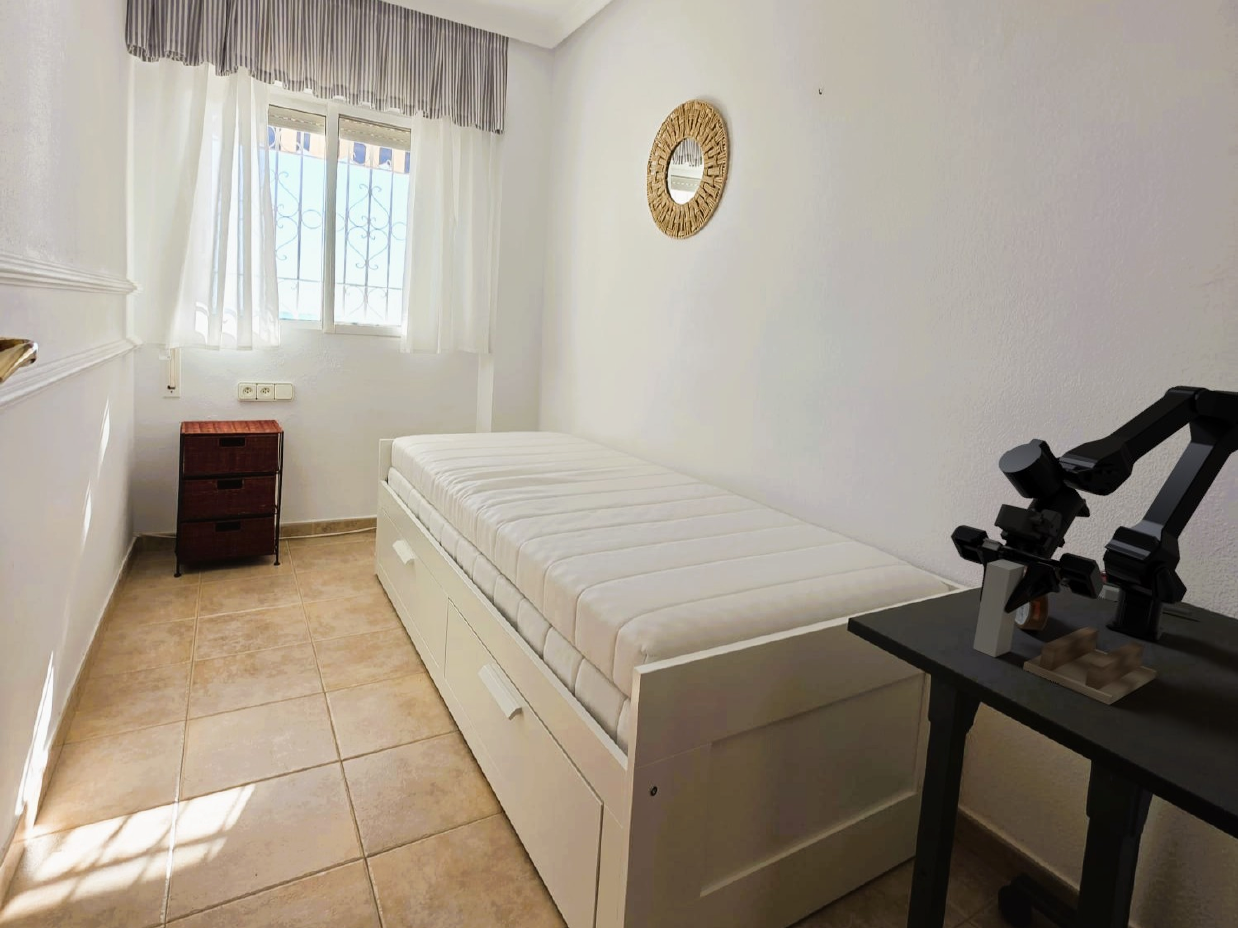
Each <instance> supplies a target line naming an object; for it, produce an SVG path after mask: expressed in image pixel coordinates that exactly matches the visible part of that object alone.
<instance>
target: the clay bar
mask: <svg viewBox="0 0 1238 928" xmlns="http://www.w3.org/2000/svg"><path fill="white" fill-rule="evenodd" d="M1024 568H1025V566H1024V565H1020V564H1017V563H1014V562H1010V561H1007V560H1004V559H1001V560H998V561H994V562H990V563H987V569H986V575H985V581H984V587H983V593H982V599H981V602H980V605H979V611H978V619H977V625H976V629H975V636H974V641H973V648H972V649H974V650H976V651H978V652H981V653H983V654H985V655H988V656H991V657H993V658H997V657H999V656H1002V655H1004V654H1006V653H1008V652H1010V651H1011V645H1012V640H1013V634H1014V629H1015V625H1016V624H1015V618H1016V612H1017V609H1016V610H1014V611H1012V612H1011V613H1006V612H1005V610H1004V608H1005V606H1006V604H1007V602H1008V600H1009V598H1010V596H1011V595H1012V593H1013V592H1014V590H1015V589H1016V587H1017V586H1018V585H1019V583H1020V582H1021V580H1022V579H1023V573H1024Z"/></svg>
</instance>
